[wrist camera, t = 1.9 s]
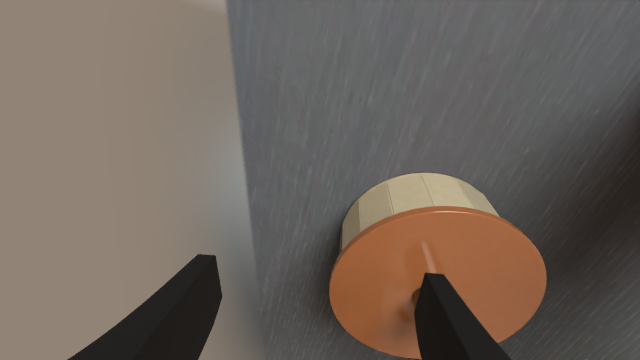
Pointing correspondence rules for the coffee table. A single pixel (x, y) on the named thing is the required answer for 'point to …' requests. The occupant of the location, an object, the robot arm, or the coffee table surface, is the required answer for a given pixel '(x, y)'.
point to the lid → (435, 257)
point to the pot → (409, 200)
